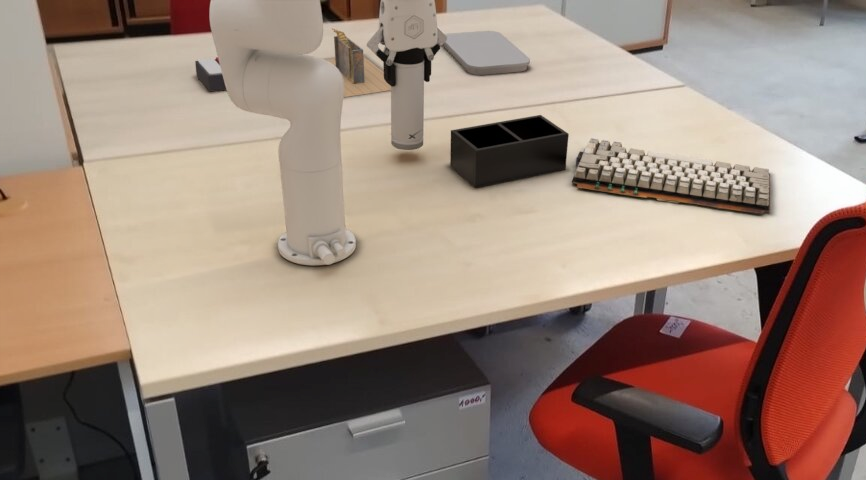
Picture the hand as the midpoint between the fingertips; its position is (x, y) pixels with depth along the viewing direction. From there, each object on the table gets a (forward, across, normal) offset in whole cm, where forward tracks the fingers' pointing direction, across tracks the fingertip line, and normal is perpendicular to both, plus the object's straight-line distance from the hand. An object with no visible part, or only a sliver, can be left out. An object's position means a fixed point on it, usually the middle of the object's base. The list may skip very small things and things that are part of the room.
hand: (407, 81), depth 178 cm
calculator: (+15, -18, +55) cm, 60 cm away
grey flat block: (+14, +43, +48) cm, 65 cm away
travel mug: (+13, 0, 0) cm, 13 cm away
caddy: (+15, +16, -12) cm, 25 cm away
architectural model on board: (+15, +7, +48) cm, 50 cm away
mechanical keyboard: (+15, +42, -30) cm, 54 cm away
